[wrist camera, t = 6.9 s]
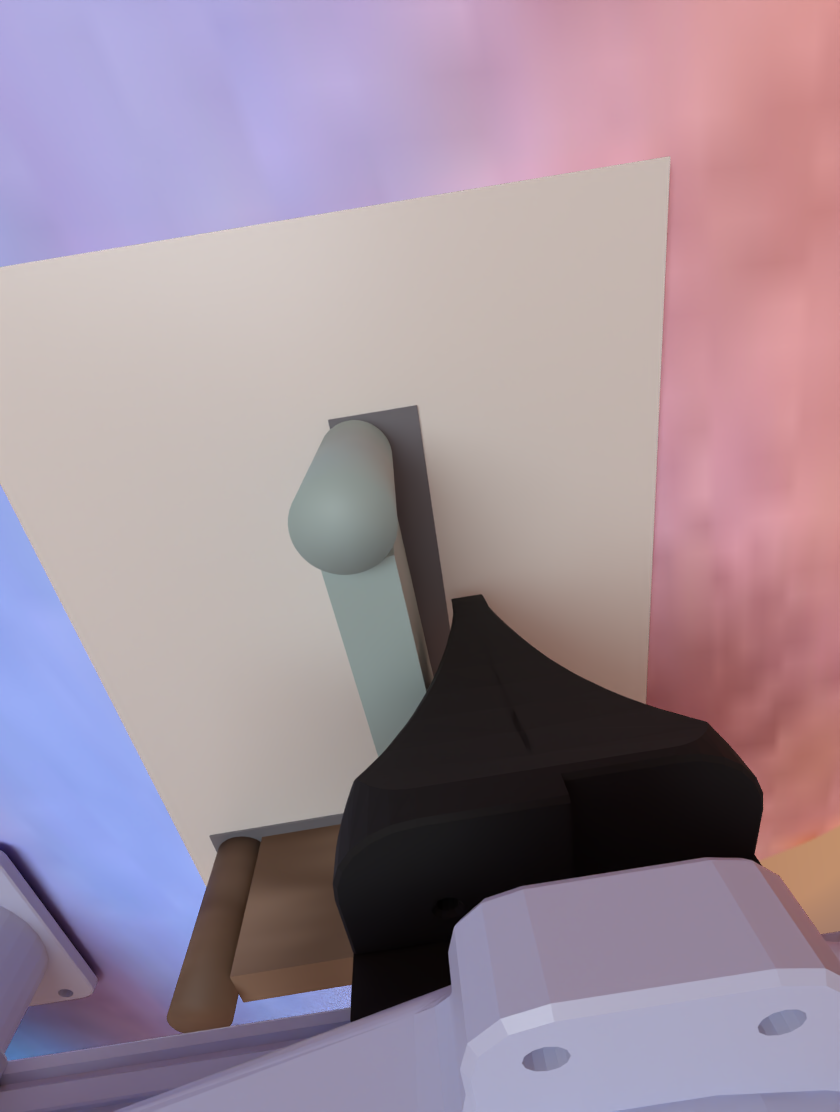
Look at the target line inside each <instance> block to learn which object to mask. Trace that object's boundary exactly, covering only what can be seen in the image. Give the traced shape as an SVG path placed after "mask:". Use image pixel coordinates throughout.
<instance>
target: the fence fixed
mask: <svg viewBox="0 0 840 1112" xmlns="http://www.w3.org/2000/svg"><path fill="white" fill-rule="evenodd" d="M340 825H341V824H338V825H332V826H326V827H320V828H314V829H308V830H302V831H296V832H290V833H284V834H278V835H271V836H265V837H262V839H261V842H260V841H258V840H256V839H254V838H251V837H243V836H241V837H233V838H230V839H228V840H226V841H224V842H223V843H222V844H221V845H220V846H219V848H218V852H217V855H216V858H215V861H214V865H213V868H212V871H211V874H210V878H209V881H208V884H207V887H206V891H205V894H204V897H203V900H202V904H201V907H200V910H199V913H198V917H197V920H196V923H195V926H194V930H193V933H192V936H191V939H190V943H189V946H188V949H187V953H186V956H185V959H184V962H183V966H182V969H181V972H180V975H179V979H178V982H177V985H176V988H175V992H174V995H173V998H172V1001H171V1005H170V1008H169V1011H168V1014H167V1021H168V1023H169V1025H170V1026H171V1027H172V1028H174V1029H175V1030H177V1031H179V1032H182V1033H191V1032H197V1031H204V1030H210V1029H216V1028H223V1027H229V1026H230V1025H231V1024H232V1022H233V1018H234V1013H235V1008H236V1004H237V999H238V994H239V995H240V997H241V999H242V1001H243V1002H249V1001H255V1000H261V999H267V998H273V997H280V996H286V995H292V994H298V993H304V992H310V991H316V990H322V989H328V988H334V987H341V986H347V985H352V972H353V951H352V948H351V945H350V942H349V939H348V937H347V934H346V931H345V928H344V925H343V922H342V919H341V917H340V914H339V911H338V908H337V905H336V902H335V898H334V891H333V874H334V864H335V853H336V844H337V839H338V834H339V830H340Z"/></svg>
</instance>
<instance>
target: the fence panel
mask: <svg viewBox="0 0 840 1112" xmlns="http://www.w3.org/2000/svg"><path fill="white" fill-rule="evenodd" d="M288 530H289V534H290V538H291V540H292V543H293V545H294V547H295V548H296V550H297V551H298V553H299V554H300V555H301V556H302V557H303V558H304V559H305V560H306V561H307V562H308V563H310V564H311V565H313V566H314V567H316V568H318V569H320V570H321V572H322V575H323V579H324V582H325V585H326V588H327V592H328V595H329V598H330V601H331V605H332V608H333V611H334V614H335V618H336V621H337V624H338V627H339V631H340V634H341V637H342V640H343V644H344V647H345V650H346V653H347V657H348V660H349V663H350V666H351V670H352V673H353V676H354V680H355V683H356V686H357V689H358V693H359V696H360V699H361V702H362V706H363V709H364V712H365V715H366V719H367V722H368V725H369V728H370V732H371V735H372V738H373V741H374V745H375V748H376V751H377V754H378V757H379V756H380V755H381V754H382V753H383V752H384V751H385V750H386V748H387V747H388V746H389V745H390V744H391V742H392V741H393V740H394V739H395V737H396V736H397V735H398V734H399V732H400V731H401V730H402V729H403V727H404V726H405V725H406V723H407V722H408V721H409V719H410V718H411V716H412V715H413V713H414V712H415V710H416V709H417V707H418V705H419V704H420V702H421V700H422V699H423V697H424V695H425V694H426V692H427V690H428V688H429V686H430V684H431V682H432V680H433V678H434V677H433V673H432V668H431V664H430V659H429V655H428V651H427V646H426V642H425V637H424V633H423V628H422V624H421V619H420V615H419V611H418V606H417V602H416V597H415V593H414V588H413V584H412V580H411V575H410V571H409V566H408V562H407V557H406V553H405V548H404V544H403V540H402V535H401V531H400V526H399V522H398V517H397V508H396V495H395V483H394V470H393V458H392V450H391V446H390V443H389V441H388V439H387V438H386V436H385V435H384V434H383V432H382V431H381V430H380V429H378V428H377V427H376V426H374V425H372V424H370V423H368V422H365V421H360V420H349V421H344V422H341V423H339V424H337V425H335V426H334V427H333V428H331V429H330V430H329V431H328V432H327V433H326V435H325V436H324V438H323V440H322V442H321V444H320V446H319V448H318V450H317V452H316V454H315V456H314V459H313V461H312V463H311V465H310V467H309V469H308V471H307V473H306V475H305V477H304V479H303V481H302V483H301V485H300V487H299V490H298V492H297V494H296V496H295V498H294V500H293V502H292V504H291V507H290V510H289V515H288Z"/></svg>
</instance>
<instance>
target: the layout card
mask: <svg viewBox="0 0 840 1112" xmlns="http://www.w3.org/2000/svg"><path fill="white" fill-rule="evenodd" d="M669 177H670V156H669V157H662V158H656V159H650V160H644V161H638V162H632V163H626V164H620V165H614V166H608V167H602V168H596V169H590V170H584V171H578V172H572V173H566V174H560V175H554V176H548V177H542V178H536V179H530V180H524V181H518V182H512V183H506V184H500V185H493V186H487V187H481V188H475V189H469V190H463V191H457V192H451V193H445V194H439V195H433V196H427V197H421V198H415V199H409V200H403V201H397V202H391V203H385V204H379V205H373V206H367V207H361V208H355V209H349V210H343V211H337V212H330V213H324V214H318V215H312V216H306V217H300V218H294V219H288V220H282V221H276V222H270V223H264V224H258V225H252V226H246V227H240V228H234V229H228V230H222V231H216V232H210V233H204V234H198V235H192V236H186V237H180V238H174V239H168V240H161V241H155V242H149V243H143V244H137V245H131V246H125V247H119V248H113V249H107V250H101V251H95V252H89V253H83V254H77V255H71V256H65V257H59V258H53V259H47V260H41V261H35V262H29V263H23V264H17V265H11V266H5V267H0V484H1V486H2V488H3V490H4V492H5V494H6V496H7V498H8V500H9V502H10V504H11V505H12V507H13V509H14V511H15V513H16V515H17V517H18V519H19V521H20V523H21V525H22V527H23V529H24V531H25V533H26V535H27V537H28V539H29V541H30V543H31V545H32V547H33V549H34V551H35V552H36V554H37V556H38V558H39V560H40V562H41V564H42V566H43V568H44V570H45V572H46V574H47V576H48V578H49V580H50V582H51V584H52V586H53V588H54V590H55V592H56V594H57V596H58V597H59V599H60V601H61V603H62V605H63V607H64V609H65V611H66V613H67V615H68V617H69V619H70V621H71V623H72V625H73V627H74V629H75V631H76V633H77V635H78V637H79V639H80V641H81V643H82V644H83V646H84V648H85V650H86V652H87V654H88V656H89V658H90V660H91V662H92V664H93V666H94V668H95V670H96V672H97V674H98V676H99V678H100V680H101V682H102V684H103V686H104V688H105V689H106V691H107V693H108V695H109V697H110V699H111V701H112V703H113V705H114V707H115V709H116V711H117V713H118V715H119V717H120V719H121V721H122V723H123V725H124V727H125V729H126V731H127V733H128V735H129V736H130V738H131V740H132V742H133V744H134V746H135V748H136V750H137V752H138V754H139V756H140V758H141V760H142V762H143V764H144V766H145V768H146V770H147V772H148V774H149V776H150V778H151V780H152V781H153V783H154V785H155V787H156V789H157V791H158V793H159V795H160V797H161V799H162V801H163V803H164V805H165V807H166V809H167V811H168V813H169V815H170V817H171V819H172V821H173V823H174V825H175V827H176V828H177V830H178V832H179V834H180V836H181V838H182V840H183V842H184V844H185V846H186V848H187V850H188V852H189V854H190V856H191V858H192V860H193V862H194V864H195V866H196V868H197V870H198V872H199V873H200V875H201V877H202V879H203V881H204V883H205V885H206V887H207V884H208V881H209V878H210V874H211V871H212V868H213V865H214V861H215V858H216V855H217V852H218V848H219V846H220V845H221V844H222V843H223V842H224V841H226V840H228V839H230V838H233V837H241V836H243V837H251V838H254V839H256V840H258V841H260V842H261V839H262V837H265V836H271V835H278V834H284V833H290V832H296V831H302V830H308V829H314V828H320V827H326V826H332V825H338V824H341V821H342V817H343V813H344V809H345V806H346V802H347V799H348V796H349V793H350V790H351V787H352V784H353V782H354V780H355V779H356V778H357V777H358V776H359V775H360V774H361V773H363V772H364V771H365V770H366V769H367V768H368V767H369V766H370V765H371V764H372V763H373V762H374V761H375V760H376V759H377V758H378V754H377V751H376V748H375V745H374V741H373V738H372V735H371V732H370V728H369V725H368V722H367V719H366V715H365V712H364V709H363V706H362V702H361V699H360V696H359V693H358V689H357V686H356V683H355V680H354V676H353V673H352V670H351V666H350V663H349V660H348V657H347V653H346V650H345V647H344V644H343V640H342V637H341V634H340V631H339V627H338V624H337V621H336V618H335V614H334V611H333V608H332V605H331V601H330V598H329V595H328V592H327V588H326V585H325V582H324V579H323V575H322V572H321V570H320V569H318V568H316V567H314V566H313V565H311V564H310V563H308V562H307V561H306V560H305V559H304V558H303V557H302V556H301V555H300V554H299V553H298V551H297V550H296V548H295V547H294V545H293V543H292V540H291V538H290V534H289V530H288V515H289V510H290V507H291V504H292V502H293V500H294V498H295V496H296V494H297V492H298V490H299V487H300V485H301V483H302V481H303V479H304V477H305V475H306V473H307V471H308V469H309V467H310V465H311V463H312V461H313V459H314V456H315V454H316V452H317V450H318V448H319V446H320V444H321V442H322V440H323V438H324V436H325V435H326V433H327V432H328V431H329V430H330V429H331V428H333V427H334V426H335V425H337V424H339V423H341V422H344V421H349V420H360V421H365V422H368V423H370V424H372V425H374V426H376V427H377V428H378V429H380V430H381V431H382V432H383V434H384V435H385V436H386V438H387V439H388V441H389V443H390V446H391V450H392V458H393V470H394V483H395V495H396V508H397V517H398V522H399V526H400V531H401V535H402V540H403V544H404V548H405V553H406V557H407V562H408V566H409V571H410V575H411V580H412V584H413V588H414V593H415V597H416V602H417V606H418V611H419V615H420V619H421V624H422V628H423V633H424V637H425V642H426V646H427V651H428V655H429V659H430V664H431V668H432V673H433V677H434V676H435V674H436V671H437V669H438V667H439V664H440V661H441V659H442V656H443V653H444V651H445V648H446V645H447V641H448V637H449V633H450V630H451V625H452V619H453V608H452V601H451V599H454V598H460V597H466V596H472V595H479V594H482V595H483V597H484V598H485V600H486V602H487V604H488V606H489V607H490V608H491V610H492V611H493V612H494V613H495V614H496V615H497V616H498V617H499V618H500V619H501V620H503V621H504V622H505V623H506V624H507V625H508V626H509V627H510V628H511V629H513V630H514V631H515V632H516V633H517V634H518V635H519V636H521V637H522V638H523V639H524V640H525V641H527V642H528V643H529V644H530V645H532V646H533V647H534V648H536V649H537V650H538V651H540V652H541V653H543V654H544V655H545V656H547V657H548V658H550V659H551V660H553V661H554V662H556V663H558V664H559V665H561V666H563V667H564V668H566V669H568V670H570V671H571V672H573V673H575V674H577V675H579V676H581V677H582V678H584V679H587V680H589V681H591V682H593V683H595V684H597V685H599V686H601V687H603V688H606V689H608V690H610V691H612V692H615V693H617V694H620V695H622V696H625V697H627V698H630V699H633V700H636V701H638V702H641V703H644V704H646V693H647V670H648V648H649V626H650V603H651V581H652V558H653V536H654V513H655V491H656V468H657V446H658V424H659V401H660V379H661V356H662V334H663V311H664V289H665V267H666V244H667V222H668V199H669Z"/></svg>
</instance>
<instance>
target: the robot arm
mask: <svg viewBox="0 0 840 1112" xmlns="http://www.w3.org/2000/svg"><path fill="white" fill-rule="evenodd" d="M451 601H452V608H453V619H452V625H451V630H450V633H449V637H448V641H447V645H446V648H445V651H444V653H443V656H442V659H441V661H440V664H439V667H438V669H437V671H436V674H435V676H434V678H433V680H432V682H431V684H430V686H429V688H428V690H427V692H426V694H425V695H424V697H423V699H422V700H421V702H420V704H419V705H418V707H417V709H416V710H415V712H414V713H413V715H412V716H411V718H410V719H409V721H408V722H407V723H406V725H405V726H404V727H403V729H402V730H401V731H400V732H399V734H398V735H397V736H396V737H395V739H394V740H393V741H392V742H391V744H390V745H389V746H388V747H387V748H386V750H385V751H384V752H383V753H382V754H381V755H380V756H379V757H378V758H377V759H376V760H375V761H374V762H373V763H372V764H371V765H370V766H369V767H368V768H367V769H366V770H365V771H364V772H363V773H361V774H360V775H359V776H358V777H357V778H356V779H355V780H354V782H353V784H352V787H351V790H350V793H349V796H348V799H347V802H346V806H345V809H344V813H343V817H342V821H341V825H340V830H339V834H338V839H337V844H336V853H335V864H334V874H333V891H334V898H335V902H336V905H337V908H338V911H339V914H340V917H341V919H342V922H343V925H344V928H345V931H346V934H347V937H348V939H349V942H350V945H351V948H352V951H353V972H352V993H351V1008H345V1009H338V1010H332V1011H325V1012H319V1013H313V1014H306V1015H300V1016H293V1017H287V1018H281V1019H274V1020H268V1021H261V1022H255V1023H248V1024H242V1025H236V1026H229V1027H223V1028H216V1029H210V1030H204V1031H197V1032H191V1033H184V1034H178V1035H171V1036H165V1037H159V1038H152V1039H146V1040H139V1041H133V1042H126V1043H120V1044H114V1045H107V1046H101V1047H94V1048H88V1049H82V1050H75V1051H69V1052H62V1053H56V1054H49V1055H43V1056H37V1057H30V1058H24V1059H17V1060H11V1061H8V1060H7V1058H6V1056H5V1054H4V1053H5V1051H6V1049H7V1047H8V1046H9V1044H10V1042H11V1040H12V1038H13V1036H14V1034H15V1032H16V1030H17V1028H18V1026H19V1024H20V1022H21V1020H22V1018H23V1016H24V1014H25V1012H26V1010H27V1008H28V1007H29V1006H35V1005H41V1004H47V1003H53V1002H60V1001H66V1000H72V999H78V998H84V997H87V996H89V995H91V994H92V993H93V992H94V989H95V987H96V985H97V982H98V979H97V977H96V975H95V974H94V973H93V971H92V970H91V969H90V967H89V966H88V965H87V963H86V962H85V960H84V959H83V958H82V956H81V955H80V954H79V952H78V951H77V950H76V948H75V947H74V946H73V944H72V943H71V942H70V940H69V939H68V937H67V936H66V935H65V933H64V932H63V931H62V929H61V928H60V927H59V925H58V924H57V923H56V921H55V920H54V918H53V917H52V916H51V914H50V913H49V912H48V910H47V909H46V908H45V906H44V905H43V904H42V902H41V901H40V899H39V898H38V897H37V895H36V894H35V893H34V891H33V890H32V889H31V887H30V886H29V885H28V883H27V882H26V881H25V879H24V878H23V876H22V875H21V874H20V872H19V871H18V870H17V868H16V867H15V866H14V864H13V863H12V862H11V860H10V859H9V857H8V856H7V855H6V854H5V853H4V852H3V851H1V850H0V1112H840V931H839V932H833V933H826V934H820V933H819V932H818V930H817V928H816V927H815V926H814V924H813V923H812V921H811V920H810V919H809V917H808V916H807V914H806V913H805V912H804V910H803V909H802V907H801V906H800V904H799V903H798V902H797V900H796V899H795V897H794V896H793V895H792V893H791V892H790V890H789V889H788V887H787V886H786V885H785V883H784V882H783V881H782V879H781V878H780V876H779V875H777V874H775V873H773V872H772V871H770V870H768V869H766V868H765V867H763V866H762V865H761V864H760V862H759V861H758V859H757V858H756V856H755V855H754V854H755V849H756V843H757V838H758V833H759V828H760V822H761V817H762V812H763V792H762V789H761V787H760V785H759V783H758V780H757V778H756V777H755V775H754V774H753V773H752V772H751V770H750V769H749V768H748V767H747V765H746V764H745V763H744V762H743V761H742V759H741V758H740V757H739V756H738V754H737V753H736V752H735V751H734V750H733V749H732V748H731V746H730V745H729V744H728V743H727V742H726V741H725V740H724V739H723V738H722V737H721V736H720V735H719V734H718V733H717V732H716V731H715V730H714V729H713V728H712V727H711V726H710V725H709V723H707V722H705V721H701V720H698V719H694V718H690V717H687V716H683V715H680V714H676V713H673V712H669V711H665V710H662V709H658V708H655V707H652V706H649V705H647V704H644V703H641V702H638V701H636V700H633V699H630V698H627V697H625V696H622V695H620V694H617V693H615V692H612V691H610V690H608V689H606V688H603V687H601V686H599V685H597V684H595V683H593V682H591V681H589V680H587V679H584V678H582V677H581V676H579V675H577V674H575V673H573V672H571V671H570V670H568V669H566V668H564V667H563V666H561V665H559V664H558V663H556V662H554V661H553V660H551V659H550V658H548V657H547V656H545V655H544V654H543V653H541V652H540V651H538V650H537V649H536V648H534V647H533V646H532V645H530V644H529V643H528V642H527V641H525V640H524V639H523V638H522V637H521V636H519V635H518V634H517V633H516V632H515V631H514V630H513V629H511V628H510V627H509V626H508V625H507V624H506V623H505V622H504V621H503V620H501V619H500V618H499V617H498V616H497V615H496V614H495V613H494V612H493V611H492V610H491V608H490V607H489V606H488V604H487V602H486V600H485V598H484V597H483V595H482V594H479V595H472V596H466V597H460V598H454V599H451Z"/></svg>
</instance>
